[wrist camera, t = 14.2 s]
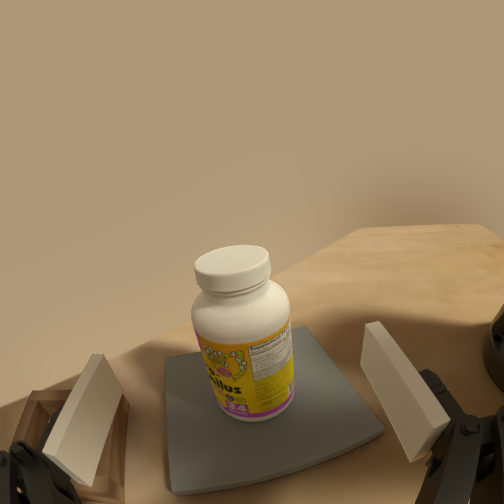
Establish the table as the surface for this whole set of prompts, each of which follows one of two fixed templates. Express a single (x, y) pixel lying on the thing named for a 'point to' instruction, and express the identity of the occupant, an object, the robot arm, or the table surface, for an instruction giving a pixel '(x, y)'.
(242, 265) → the supplement bottle
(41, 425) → the locating collar
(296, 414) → the slate mat
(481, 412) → the table surface
